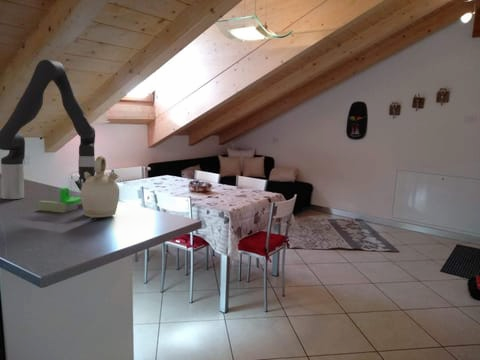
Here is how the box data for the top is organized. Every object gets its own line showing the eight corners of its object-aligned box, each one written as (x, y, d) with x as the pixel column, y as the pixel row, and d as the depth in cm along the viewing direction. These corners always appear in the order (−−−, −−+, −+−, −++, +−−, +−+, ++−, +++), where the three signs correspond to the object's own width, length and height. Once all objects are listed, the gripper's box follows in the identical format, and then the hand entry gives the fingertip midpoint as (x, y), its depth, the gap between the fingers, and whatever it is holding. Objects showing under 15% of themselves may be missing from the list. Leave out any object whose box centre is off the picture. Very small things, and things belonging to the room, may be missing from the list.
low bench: (39, 210, 153) (38, 201, 152) (55, 206, 161) (55, 198, 161) (63, 212, 149) (63, 203, 149) (78, 209, 158) (78, 200, 157)
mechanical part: (73, 205, 166) (72, 189, 165) (60, 205, 166) (60, 188, 165) (83, 201, 178) (83, 185, 177) (71, 201, 178) (71, 185, 177)
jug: (126, 212, 154) (126, 156, 151) (104, 219, 139) (103, 157, 136) (97, 209, 158) (96, 154, 155) (72, 216, 143) (71, 155, 140)
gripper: (70, 165, 168) (70, 200, 170) (92, 166, 165) (93, 202, 167) (81, 164, 176) (81, 198, 178) (103, 165, 172) (103, 200, 174)
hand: (87, 200), depth 172 cm, fingers closed
